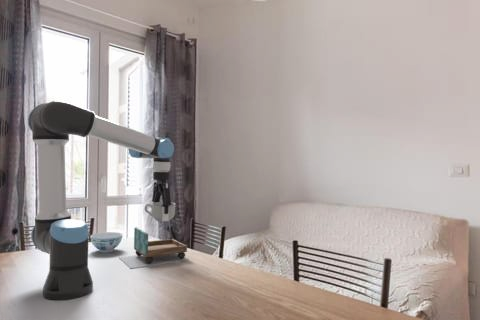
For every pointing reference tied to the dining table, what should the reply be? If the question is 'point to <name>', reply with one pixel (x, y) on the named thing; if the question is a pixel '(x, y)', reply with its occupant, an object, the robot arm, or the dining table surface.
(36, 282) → the dining table surface
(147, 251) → the cart
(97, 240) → the chinaware
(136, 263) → the track mat
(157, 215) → the teacup
